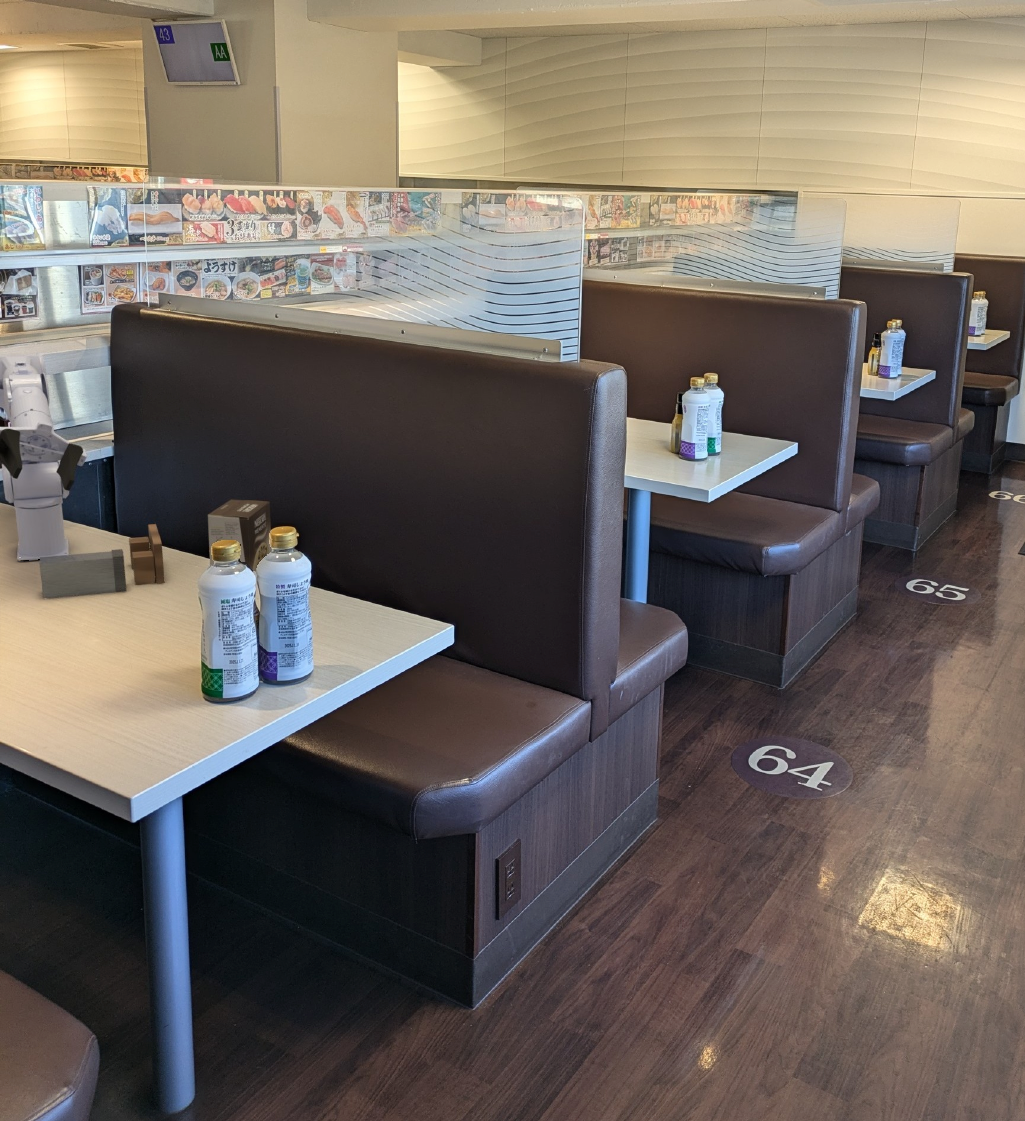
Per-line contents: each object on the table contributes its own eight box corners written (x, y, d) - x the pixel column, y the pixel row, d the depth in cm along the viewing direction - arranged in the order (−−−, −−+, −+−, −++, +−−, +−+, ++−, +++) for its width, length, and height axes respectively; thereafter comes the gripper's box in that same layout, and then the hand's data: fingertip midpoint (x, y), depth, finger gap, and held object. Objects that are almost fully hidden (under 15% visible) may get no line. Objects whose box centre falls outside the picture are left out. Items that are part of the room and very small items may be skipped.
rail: (43, 591, 173) (39, 555, 171) (125, 583, 178) (122, 549, 176) (43, 599, 170) (39, 563, 168) (126, 591, 174) (123, 555, 173)
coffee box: (253, 623, 164) (248, 517, 159) (211, 619, 165) (205, 514, 160) (275, 601, 172) (271, 500, 167) (235, 597, 173) (230, 497, 168)
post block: (130, 563, 187) (127, 526, 185) (158, 561, 188) (155, 524, 186) (135, 585, 177) (132, 546, 175) (164, 582, 179) (161, 543, 176)
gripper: (-7, 392, 169) (3, 446, 160) (88, 418, 178) (102, 470, 169) (-23, 428, 172) (-15, 483, 163) (71, 452, 181) (84, 505, 172)
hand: (43, 479), depth 166 cm, fingers open, 7 cm apart
